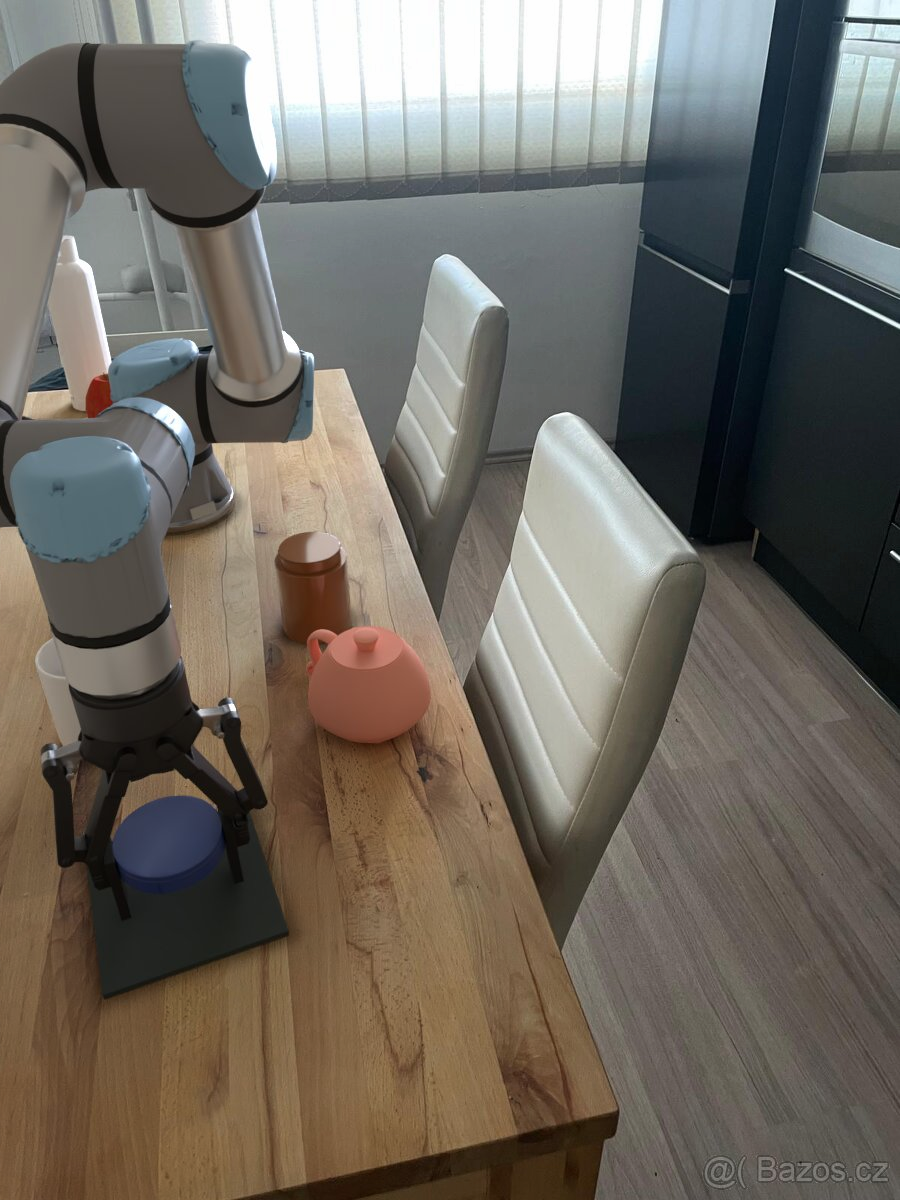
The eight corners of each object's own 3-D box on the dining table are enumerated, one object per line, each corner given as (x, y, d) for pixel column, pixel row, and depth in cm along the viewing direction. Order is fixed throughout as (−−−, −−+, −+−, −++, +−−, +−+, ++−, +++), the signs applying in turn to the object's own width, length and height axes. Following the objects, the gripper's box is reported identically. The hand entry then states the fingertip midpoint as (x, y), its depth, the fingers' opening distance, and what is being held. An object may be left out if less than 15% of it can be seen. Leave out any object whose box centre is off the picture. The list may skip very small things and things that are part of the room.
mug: (184, 693, 97) (167, 613, 91) (187, 745, 90) (169, 662, 84) (63, 714, 94) (38, 633, 88) (58, 769, 87) (30, 685, 82)
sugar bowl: (385, 773, 87) (380, 690, 81) (272, 721, 93) (260, 640, 87) (453, 702, 95) (453, 621, 90) (346, 659, 102) (339, 581, 96)
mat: (86, 861, 78) (85, 856, 78) (249, 812, 83) (248, 808, 82) (104, 1000, 68) (102, 995, 67) (289, 935, 72) (288, 930, 72)
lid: (216, 893, 69) (212, 876, 68) (104, 897, 68) (98, 880, 67) (233, 809, 76) (229, 793, 74) (131, 813, 75) (126, 796, 74)
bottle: (129, 398, 166) (95, 235, 150) (98, 414, 160) (59, 246, 144) (94, 391, 169) (58, 231, 153) (62, 407, 163) (21, 241, 147)
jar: (275, 613, 109) (265, 537, 103) (339, 599, 112) (333, 523, 106) (293, 651, 103) (283, 572, 97) (360, 634, 105) (355, 556, 100)
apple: (123, 420, 158) (109, 359, 152) (154, 431, 154) (142, 369, 148) (82, 436, 152) (66, 374, 146) (113, 448, 148) (99, 384, 142)
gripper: (265, 603, 68) (295, 817, 81) (-45, 673, 61) (41, 895, 74) (291, 660, 62) (319, 880, 75) (-47, 744, 56) (46, 971, 68)
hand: (181, 887), depth 74 cm, fingers closed on lid, 8 cm apart
